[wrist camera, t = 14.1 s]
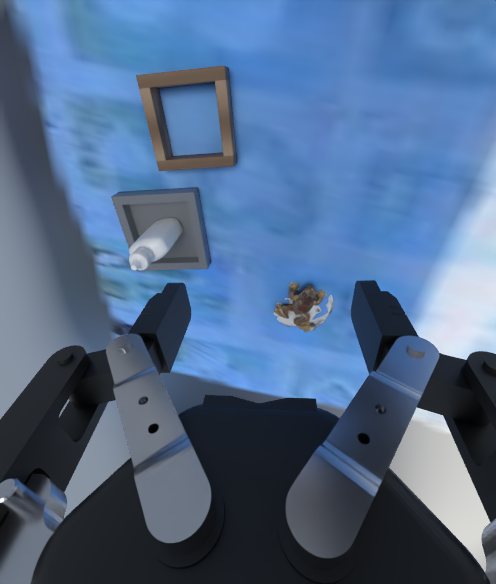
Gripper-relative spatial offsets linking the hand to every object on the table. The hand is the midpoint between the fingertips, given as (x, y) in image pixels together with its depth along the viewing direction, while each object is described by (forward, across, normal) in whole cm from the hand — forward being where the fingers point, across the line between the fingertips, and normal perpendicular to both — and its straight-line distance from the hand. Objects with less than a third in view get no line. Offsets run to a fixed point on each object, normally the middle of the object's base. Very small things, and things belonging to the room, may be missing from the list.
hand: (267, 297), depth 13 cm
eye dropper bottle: (+30, +17, +8) cm, 35 cm away
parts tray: (+30, +17, +8) cm, 35 cm away
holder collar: (+30, +10, -6) cm, 32 cm away
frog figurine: (+30, -4, +23) cm, 39 cm away
